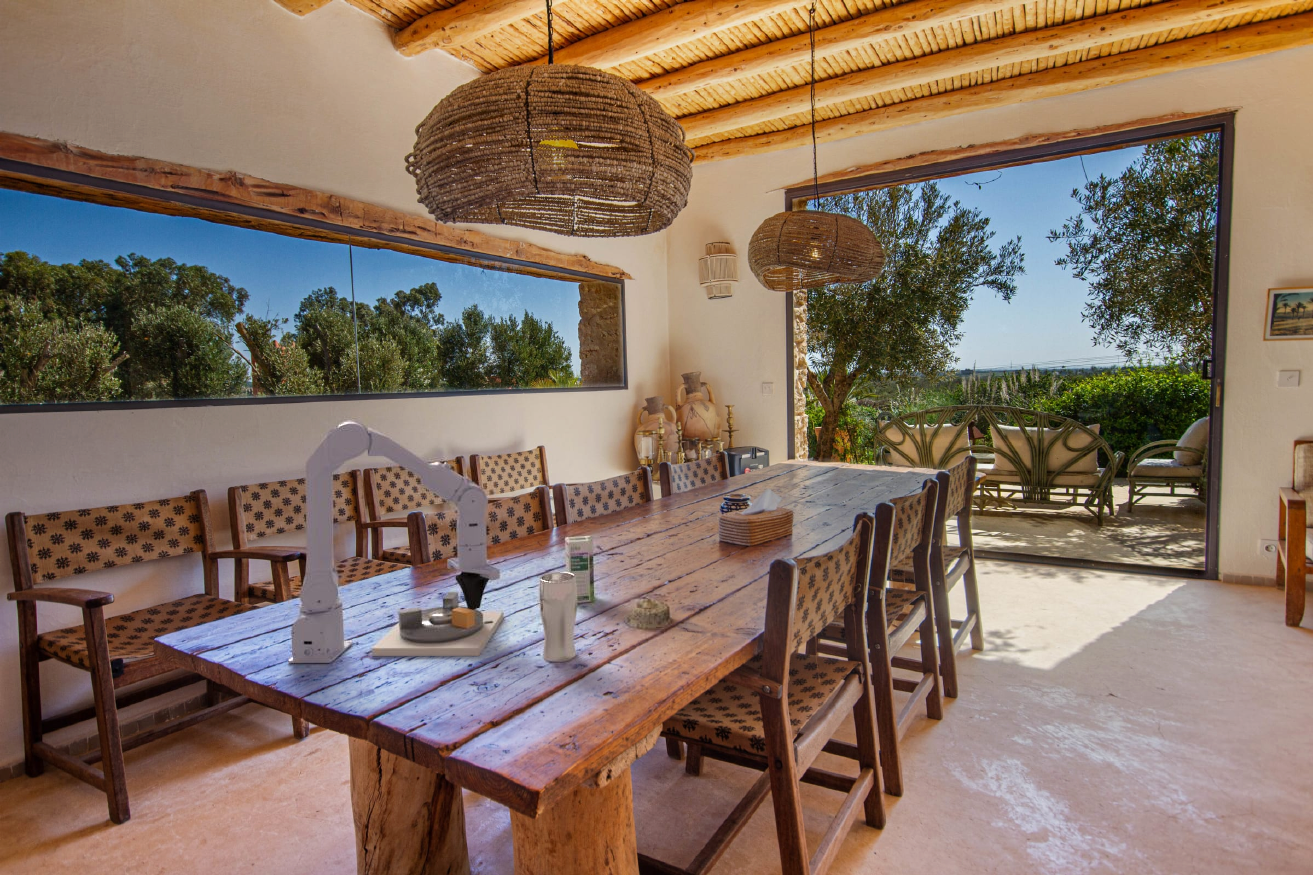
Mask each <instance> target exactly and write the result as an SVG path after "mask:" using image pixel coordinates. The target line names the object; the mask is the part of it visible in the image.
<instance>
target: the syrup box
mask: <svg viewBox="0 0 1313 875" xmlns="http://www.w3.org/2000/svg"><path fill="white" fill-rule="evenodd" d="M564 547H565V548H564V550H565V572H569V573H572V574H575V575H576V585H577V604H583V603H584V604H585V603H594V602H595V574H594V572H595V571H594V568H595V567H594V540H593V538H592V537H591V536H590V535H584V536H570V537H569V536H566V537H565V538H564Z"/></svg>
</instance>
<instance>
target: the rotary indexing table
mask: <svg viewBox="0 0 1313 875" xmlns="http://www.w3.org/2000/svg"><path fill="white" fill-rule="evenodd" d="M480 611H481V610H478V608H477V609H474V610H471V609H468V607H467V606H462V605H461V606H459V592H457V591H456V592H454V591H453V592H451V591H450V592H447V593H446V595H444V597H443V598H442V606H438V607H431V608H426V609H423V610H422V609H421V607H419V606H417V607H412V608H406V609H405V608H404V609H400V610H398V623H399V631H400V635H401V637H402V638H404V639H406V640H409V641H413V642H420V643H438V642H447V641H452V640H457V639H461V638H464V637H467V636H469V635H472V634H474V633H476V632H477V631H479V630H480V629H481V628H482V626H483V614H482V613H481V612H480Z"/></svg>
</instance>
